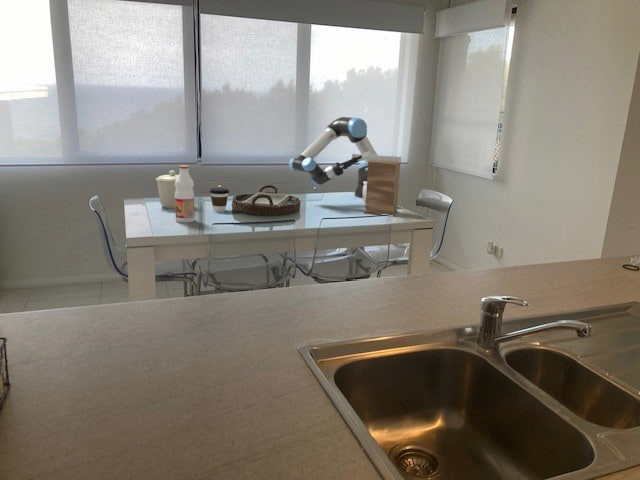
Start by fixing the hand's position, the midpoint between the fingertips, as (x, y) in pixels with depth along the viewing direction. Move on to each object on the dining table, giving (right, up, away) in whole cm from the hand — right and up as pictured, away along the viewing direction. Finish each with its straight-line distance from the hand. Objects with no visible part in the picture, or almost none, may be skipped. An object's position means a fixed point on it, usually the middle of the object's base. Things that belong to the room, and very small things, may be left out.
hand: (368, 153), depth 305 cm
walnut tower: (+8, -34, +5) cm, 35 cm away
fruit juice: (-97, -40, -35) cm, 110 cm away
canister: (-112, -31, -2) cm, 116 cm away
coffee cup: (-85, -34, -6) cm, 91 cm away
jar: (+3, -29, +28) cm, 40 cm away
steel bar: (+4, -4, 0) cm, 6 cm away
